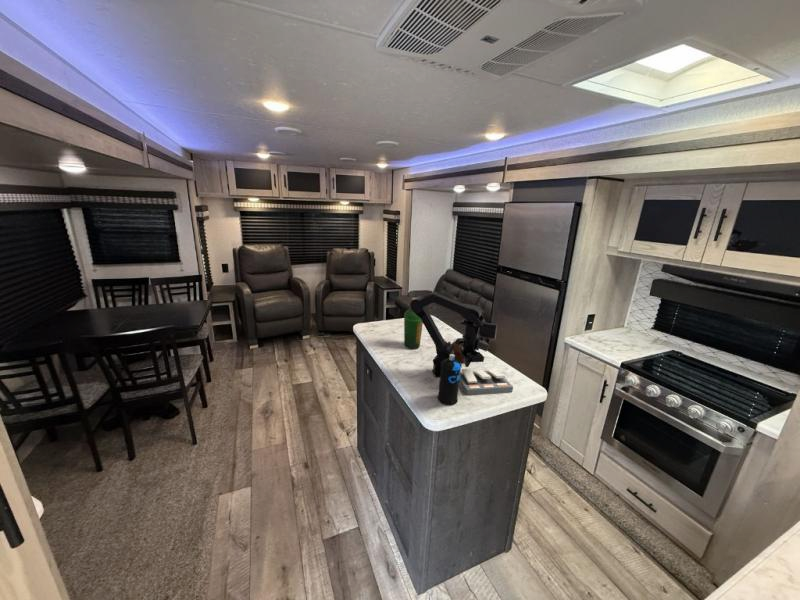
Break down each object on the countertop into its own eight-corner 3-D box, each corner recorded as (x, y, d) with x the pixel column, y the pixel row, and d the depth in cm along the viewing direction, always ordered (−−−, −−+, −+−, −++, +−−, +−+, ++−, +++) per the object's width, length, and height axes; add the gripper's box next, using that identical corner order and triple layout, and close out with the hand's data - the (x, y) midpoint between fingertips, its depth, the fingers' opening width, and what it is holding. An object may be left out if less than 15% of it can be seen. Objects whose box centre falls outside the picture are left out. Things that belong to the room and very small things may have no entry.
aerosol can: (433, 398, 126) (437, 354, 120) (445, 391, 132) (450, 348, 126) (449, 408, 121) (454, 362, 115) (461, 399, 126) (467, 355, 121)
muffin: (444, 358, 161) (446, 340, 158) (456, 352, 168) (458, 335, 165) (463, 367, 153) (466, 348, 150) (475, 360, 160) (478, 342, 158)
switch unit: (466, 395, 130) (467, 389, 129) (454, 377, 143) (455, 372, 142) (512, 391, 134) (513, 386, 133) (497, 375, 147) (497, 370, 146)
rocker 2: (482, 380, 134) (482, 376, 134) (474, 374, 142) (474, 370, 142) (491, 379, 135) (491, 376, 135) (482, 373, 142) (483, 370, 142)
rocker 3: (496, 379, 135) (496, 376, 135) (487, 373, 143) (488, 370, 143) (504, 378, 136) (505, 375, 136) (496, 373, 144) (496, 369, 144)
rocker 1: (467, 384, 133) (468, 381, 133) (461, 371, 140) (462, 368, 140) (476, 383, 134) (477, 381, 133) (469, 370, 141) (470, 368, 140)
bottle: (424, 349, 170) (428, 300, 162) (406, 351, 166) (409, 302, 158) (416, 341, 179) (419, 295, 171) (399, 343, 175) (401, 296, 167)
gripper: (498, 343, 127) (492, 376, 132) (479, 326, 145) (475, 356, 149) (472, 344, 125) (468, 378, 130) (456, 326, 143) (453, 357, 147)
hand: (466, 366), depth 139 cm, fingers closed
